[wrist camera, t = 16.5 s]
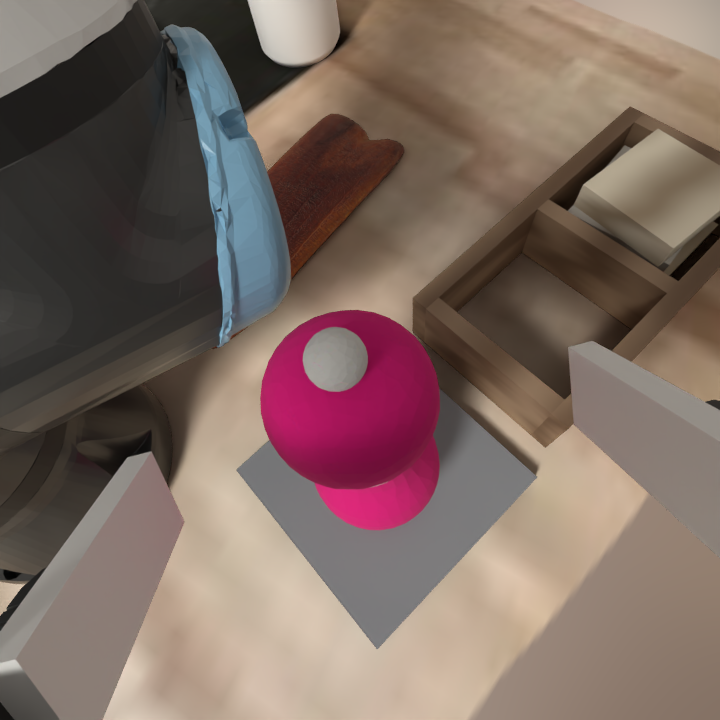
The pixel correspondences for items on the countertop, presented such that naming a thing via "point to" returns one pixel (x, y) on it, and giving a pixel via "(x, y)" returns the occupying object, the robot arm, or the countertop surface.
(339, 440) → the pepper mill
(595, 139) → the tray
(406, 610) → the slate tile
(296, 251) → the wooden tablet
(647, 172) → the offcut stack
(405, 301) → the countertop surface
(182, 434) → the countertop surface
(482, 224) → the countertop surface
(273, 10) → the alcohol
